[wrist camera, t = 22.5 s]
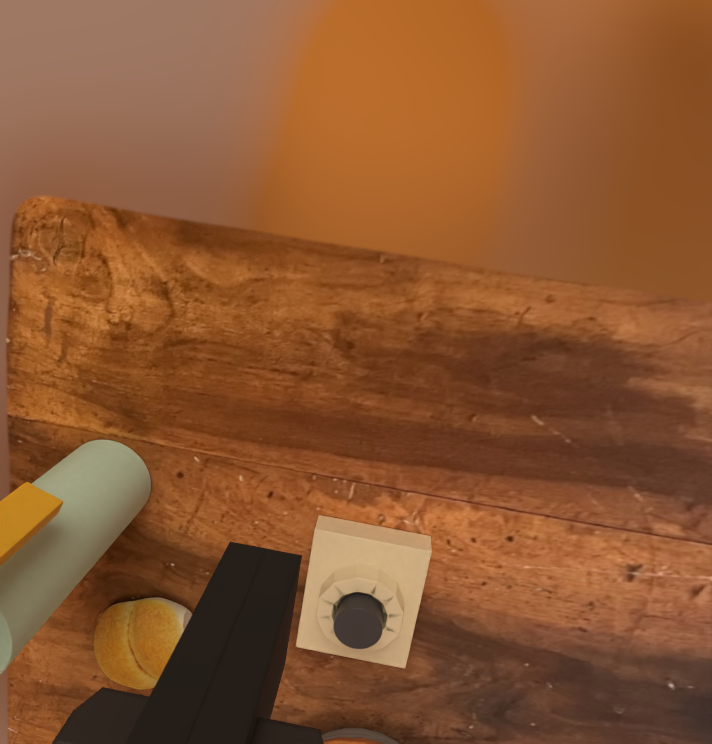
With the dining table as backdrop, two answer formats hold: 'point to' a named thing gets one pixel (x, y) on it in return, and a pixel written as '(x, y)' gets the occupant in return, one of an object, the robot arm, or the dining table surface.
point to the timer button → (358, 621)
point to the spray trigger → (24, 517)
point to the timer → (364, 585)
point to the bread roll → (138, 640)
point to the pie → (356, 737)
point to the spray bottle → (69, 536)
